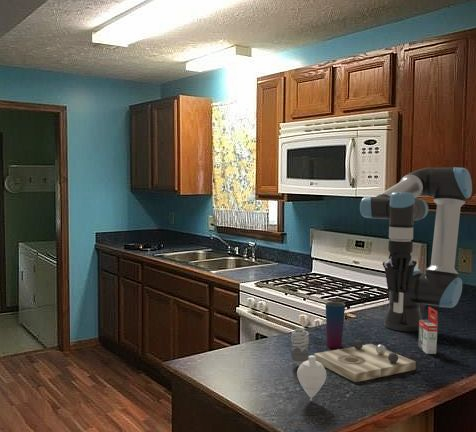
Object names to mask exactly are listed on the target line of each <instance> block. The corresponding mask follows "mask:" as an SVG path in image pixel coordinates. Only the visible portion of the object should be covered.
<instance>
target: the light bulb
mask: <svg viewBox="0 0 476 432" xmlns="http://www.w3.org/2000/svg"><path fill="white" fill-rule="evenodd" d="M290 335H291V336H290V338H291V339H290V341H291V346H292V349H290V353H291V360H292V361H295V365H296V366H297V367H299V366H300V365H301V364H302V363H303V362H305V361H308V360H309V358H308V357H309V350H308V347H309V343H310V336H309V335H310V333H309V332H308V331H307V330H305V329H303V328H295V331H292V332H291V334H290Z"/></svg>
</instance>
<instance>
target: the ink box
mask: <svg viewBox="0 0 476 432" xmlns="http://www.w3.org/2000/svg"><path fill="white" fill-rule="evenodd" d="M427 309H428V312H427V314H428V316H427V317H428V319H422V320H419V331H418V339H417V340H418V341H417V347H418V348H419V349H420V350H421V351H423V353H424V354H426V355H436V354H437V346H438V345H437V344H438V343H437V341H438V328H439V327H438V321H439V313H438V312H439V311H437V310H436V309H434V308H432V307H431V306H428V308H427Z"/></svg>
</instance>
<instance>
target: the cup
mask: <svg viewBox="0 0 476 432" xmlns="http://www.w3.org/2000/svg"><path fill="white" fill-rule="evenodd" d="M345 313H346V304H345V303H344V302H339V301H328V302H325V321H326V322H325V325H326V326H325V327H326V346H327V347H328V348H331V349H341V348H342V345H343V333H344V322H345Z"/></svg>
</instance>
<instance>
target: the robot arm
mask: <svg viewBox="0 0 476 432" xmlns="http://www.w3.org/2000/svg"><path fill="white" fill-rule="evenodd" d="M472 192H473V182H472V177H471V174H470V172H469V170H468V169H467V168H465V167H457V166H453V167H452V166H451V167H448V166H447V167H424V168H419V169H417V170H414V171H412V172H409V173H407V174H406V175H404V176H403V177H402V178H401V179H400V180H399V182H398V183H396V184H394V185H393V186H391V187H389V188H388V189H386V190H384V191H383V192H381V193H379V194H378V195H376V196H364V197H362V199H361V201H360V203H359V211H360V215H361V216H362V217H363V218H366V219H371V220H372V219H376V220H377V219H378V220H379V219H380V220H382V219H383V220H389V224H388V225H389V227H388V239H390V240H388V249H387V250H388V252H389V256H388V259H387V260H386V261H383V262H382V267H383V268H384V272H385V274H384V275H385V280H386V286H387V290H388V291H389V297H388V302H389V303H388V308H387V311H386V314H385V317H384V320H383V326H384V327H386V328H388V329H390V330H394V331H397V332H398V331H399V332H410V333H411V332H413V333H414V332H419V320H423V319H422V314H421V309H420V304H422V305H429V306H433V307H434V306H435V307H438V308H450V309H452V308H454V307H455V306H457V304H458V303H459V300H460V298H461V295H462V293H463V292H462V291H463V280H462V278H460V277H459V272H458V271H457V270H456V269H455V264H456V255H457V246H458V235H459V225H460V216H461V207H462V206H464V204H466V200H467V199H469V198H470V197H471V196H472V194H473V193H472ZM418 197H427V198H428V197H430V198H433V202H434V203H435V204H436V212H435V220H434V231H433V241H432V251H431V259H430V265H429V266H428V267H426V269H425V273H422V270H421V269H420V268H415V267H416V266H417V263H418V262H417V260H414V259H412V255H411V253H413V251H414V250H413V247H414V246H413V245H414V242H413V241H412V240H414V224H415V223H414V221H416V222H418V221H421V220H422V219H424V218H426V217H427V215H428V214H429V205H428V203H427V202H426V201H425V199H422V198H418Z"/></svg>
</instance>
